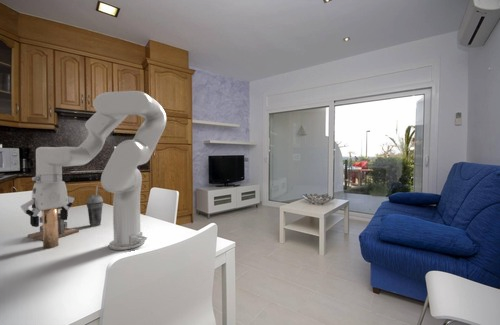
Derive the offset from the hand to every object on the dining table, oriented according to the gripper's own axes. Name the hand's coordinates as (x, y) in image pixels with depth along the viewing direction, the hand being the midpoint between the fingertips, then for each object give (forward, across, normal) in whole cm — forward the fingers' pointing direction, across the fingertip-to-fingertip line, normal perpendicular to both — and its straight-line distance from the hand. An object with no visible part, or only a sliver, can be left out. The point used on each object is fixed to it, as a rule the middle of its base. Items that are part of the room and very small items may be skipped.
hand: (50, 222), depth 89 cm
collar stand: (+9, +9, +14) cm, 19 cm away
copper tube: (+9, 0, 0) cm, 9 cm away
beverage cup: (+9, +25, +10) cm, 29 cm away
